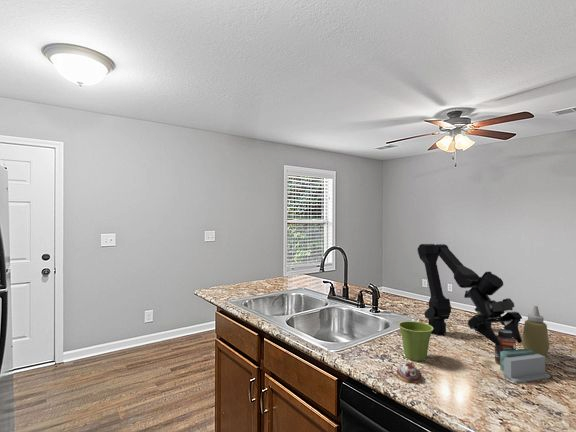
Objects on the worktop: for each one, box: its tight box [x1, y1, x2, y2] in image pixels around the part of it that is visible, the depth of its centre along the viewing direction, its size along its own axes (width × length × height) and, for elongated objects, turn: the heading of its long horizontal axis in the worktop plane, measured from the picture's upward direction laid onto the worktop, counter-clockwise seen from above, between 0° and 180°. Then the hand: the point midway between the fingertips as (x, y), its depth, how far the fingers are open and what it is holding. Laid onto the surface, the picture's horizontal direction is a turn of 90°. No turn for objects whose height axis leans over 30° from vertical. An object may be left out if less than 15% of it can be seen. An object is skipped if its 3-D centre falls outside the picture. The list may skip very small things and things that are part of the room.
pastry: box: [396, 362, 423, 384], centre depth 102 cm, size 8×8×5 cm
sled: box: [477, 348, 534, 375], centre depth 110 cm, size 11×11×7 cm
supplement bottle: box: [494, 328, 517, 365], centre depth 110 cm, size 6×6×11 cm
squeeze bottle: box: [521, 305, 550, 357], centre depth 120 cm, size 8×8×18 cm
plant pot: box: [397, 320, 433, 362], centre depth 116 cm, size 12×12×11 cm
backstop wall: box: [503, 354, 551, 384], centre depth 102 cm, size 4×14×6 cm, turn 105°
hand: (510, 343), depth 108 cm, fingers open, 9 cm apart
